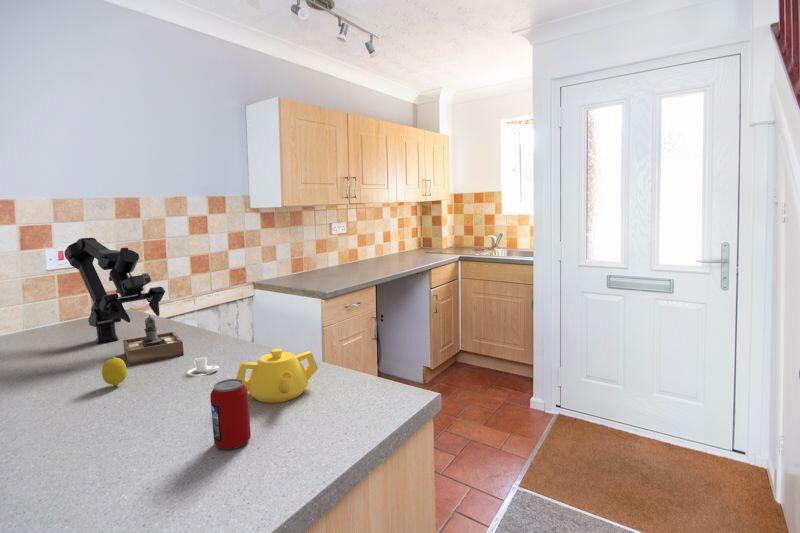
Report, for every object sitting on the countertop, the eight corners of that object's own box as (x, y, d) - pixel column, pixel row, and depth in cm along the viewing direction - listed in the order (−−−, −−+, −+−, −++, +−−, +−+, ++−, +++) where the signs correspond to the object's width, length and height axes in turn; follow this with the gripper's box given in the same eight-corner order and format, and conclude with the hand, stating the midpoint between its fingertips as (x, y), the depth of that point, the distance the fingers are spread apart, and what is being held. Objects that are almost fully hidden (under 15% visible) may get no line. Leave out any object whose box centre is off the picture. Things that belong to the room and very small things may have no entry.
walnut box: (124, 353, 147) (123, 340, 146) (175, 344, 155) (173, 331, 155) (129, 365, 135) (127, 351, 134) (183, 355, 143) (182, 341, 143)
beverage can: (220, 435, 91) (215, 378, 89) (254, 433, 92) (250, 376, 90) (209, 453, 84) (204, 392, 83) (246, 450, 85) (241, 390, 83)
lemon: (133, 383, 121) (130, 354, 119) (114, 391, 115) (110, 361, 114) (117, 381, 122) (114, 352, 121) (98, 389, 117) (95, 359, 116)
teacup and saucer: (223, 372, 128) (222, 358, 128) (195, 380, 123) (194, 366, 122) (210, 365, 134) (208, 352, 134) (182, 373, 129) (181, 359, 128)
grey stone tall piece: (161, 347, 149) (158, 311, 148) (164, 351, 144) (161, 314, 143) (141, 350, 146) (137, 314, 144) (143, 355, 141) (139, 318, 139)
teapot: (244, 420, 97) (240, 371, 96) (232, 391, 114) (229, 349, 112) (332, 400, 107) (330, 355, 105) (310, 376, 123) (308, 336, 121)
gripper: (99, 270, 139) (120, 309, 134) (159, 263, 154) (180, 297, 149) (90, 292, 144) (110, 331, 140) (149, 283, 159) (169, 318, 155)
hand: (144, 318), depth 146 cm, fingers open, 9 cm apart
